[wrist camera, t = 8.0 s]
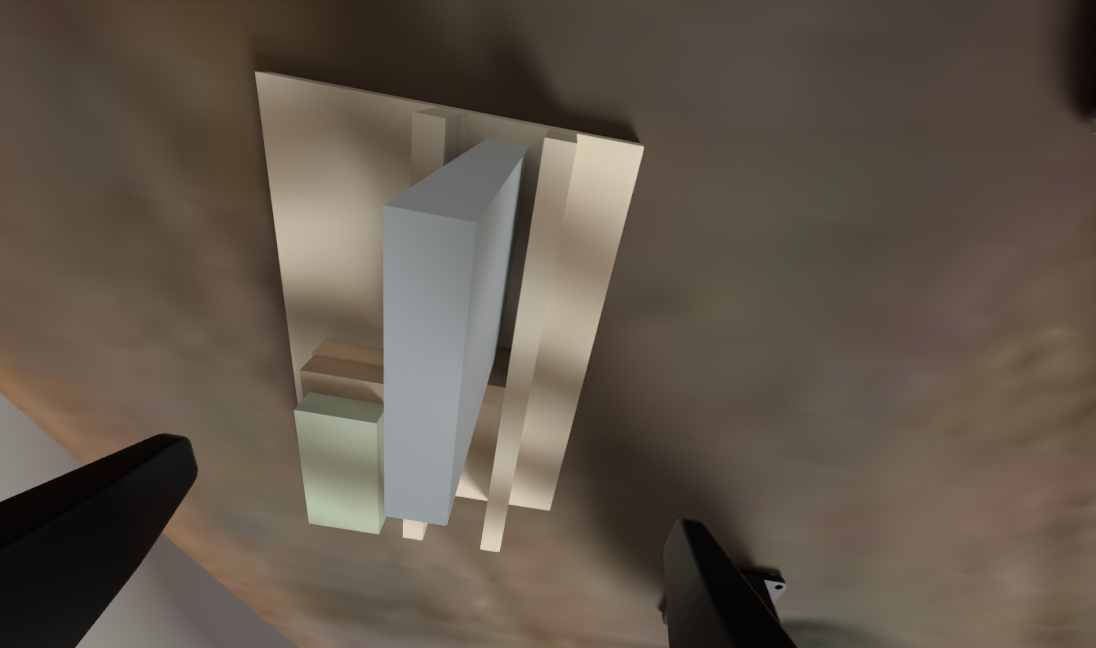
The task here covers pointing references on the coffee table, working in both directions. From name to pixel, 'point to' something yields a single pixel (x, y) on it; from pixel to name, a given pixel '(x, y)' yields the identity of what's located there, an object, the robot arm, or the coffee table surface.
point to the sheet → (444, 319)
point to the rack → (536, 274)
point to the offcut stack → (343, 436)
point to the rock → (1094, 126)
